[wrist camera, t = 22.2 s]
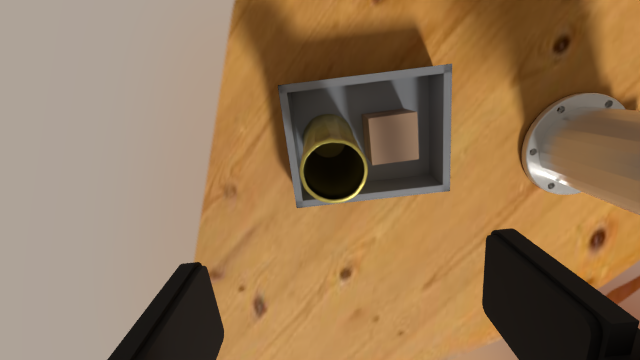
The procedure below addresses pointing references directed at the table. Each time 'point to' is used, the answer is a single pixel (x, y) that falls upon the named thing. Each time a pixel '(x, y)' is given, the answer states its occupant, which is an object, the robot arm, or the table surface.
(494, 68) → the table surface
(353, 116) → the tote
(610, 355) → the robot arm
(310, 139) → the vase
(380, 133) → the walnut cube
